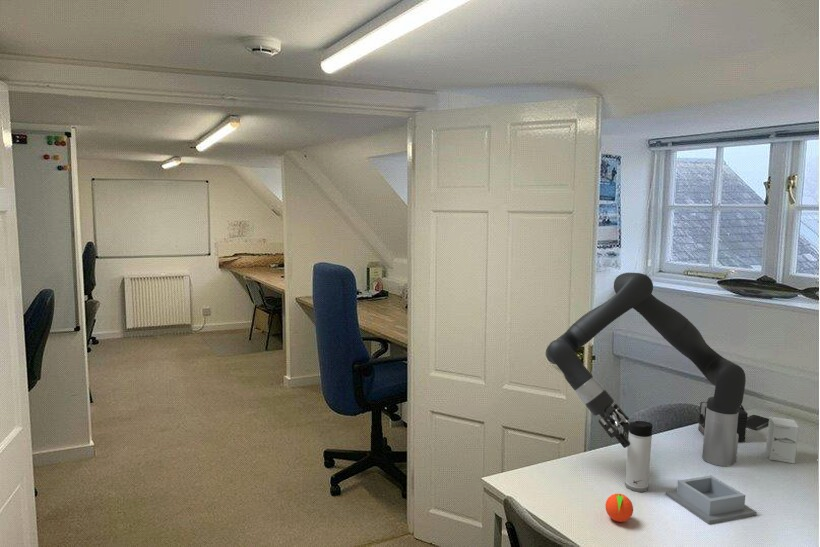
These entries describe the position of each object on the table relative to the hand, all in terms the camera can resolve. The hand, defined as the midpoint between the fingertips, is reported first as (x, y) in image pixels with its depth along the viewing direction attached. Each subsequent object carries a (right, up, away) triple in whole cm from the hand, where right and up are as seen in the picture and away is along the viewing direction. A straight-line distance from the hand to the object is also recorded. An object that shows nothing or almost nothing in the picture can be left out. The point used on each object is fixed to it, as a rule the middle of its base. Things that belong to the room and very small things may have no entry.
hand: (631, 441), depth 175 cm
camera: (+47, -10, +40) cm, 62 cm away
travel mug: (+2, -14, 0) cm, 14 cm away
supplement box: (+58, -12, +23) cm, 63 cm away
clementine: (-10, -16, -18) cm, 26 cm away
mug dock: (+18, -15, -9) cm, 25 cm away
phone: (+67, -9, +53) cm, 86 cm away
